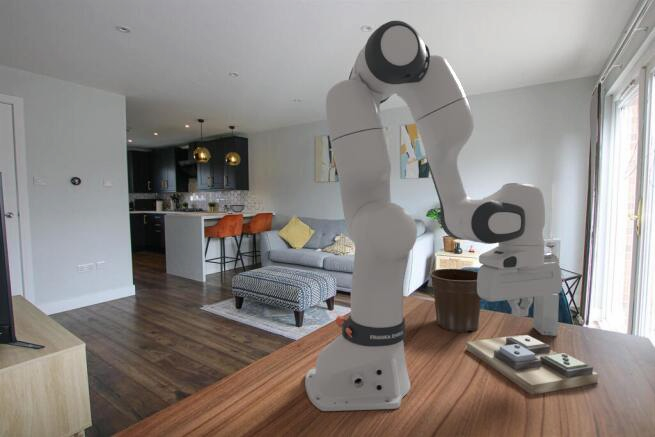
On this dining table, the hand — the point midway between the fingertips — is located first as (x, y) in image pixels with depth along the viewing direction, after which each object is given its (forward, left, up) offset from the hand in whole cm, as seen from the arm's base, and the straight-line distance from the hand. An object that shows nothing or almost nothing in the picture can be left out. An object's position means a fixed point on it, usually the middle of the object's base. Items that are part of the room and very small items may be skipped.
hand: (519, 315), depth 73 cm
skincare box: (+25, +16, -13) cm, 32 cm away
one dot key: (+8, +5, -11) cm, 14 cm away
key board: (+4, +2, -13) cm, 13 cm away
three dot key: (+8, -5, -11) cm, 14 cm away
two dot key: (0, 0, -10) cm, 10 cm away
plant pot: (+3, +27, -13) cm, 30 cm away
